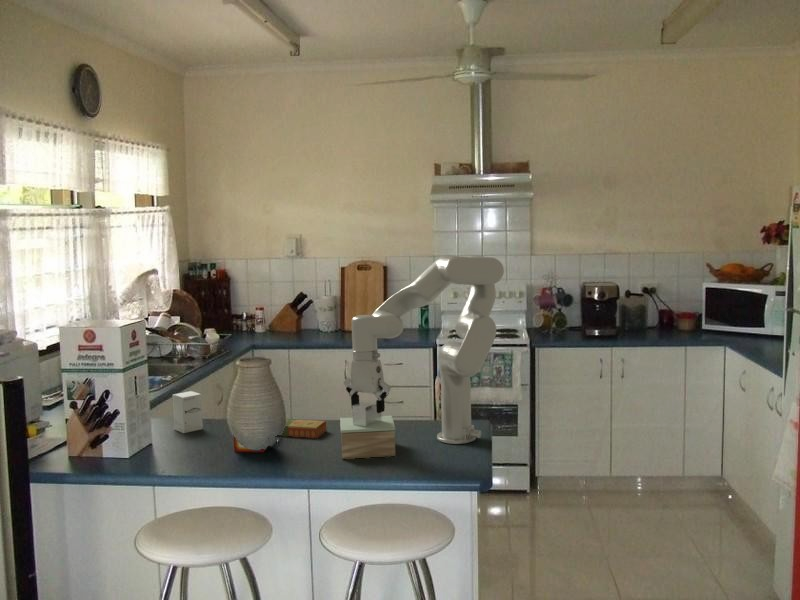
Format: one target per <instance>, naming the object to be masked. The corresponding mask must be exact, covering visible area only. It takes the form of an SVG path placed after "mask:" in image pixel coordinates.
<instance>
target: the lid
mask: <svg viewBox="0 0 800 600" xmlns="http://www.w3.org/2000/svg"><path fill="white" fill-rule="evenodd" d="M381 418H382V421H380V422H377V423H375V424H372V425H370V426H367V427H363V426H357V425H353V416H351V417H340V418H339V420H340V421H339V422H340V423H339V426H340V434H341V433H350V432H371V431H392V430H395V431H396V425H395V422H394V418H393V416H392V415H381Z"/></svg>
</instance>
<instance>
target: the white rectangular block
mask: <svg viewBox="0 0 800 600" xmlns="http://www.w3.org/2000/svg"><path fill="white" fill-rule="evenodd" d="M351 410H352V417H353V425H357V426H363V427H367V426H370V425H372V424H375V423H377V422H380V421H382V418H381V416H382V412H381V413H377V407H376V400H370V399H369V400H368V399H367V400H364V401H362V402H359V403H358V404H355V405H353V406H352V405H351Z"/></svg>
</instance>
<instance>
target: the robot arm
mask: <svg viewBox="0 0 800 600" xmlns="http://www.w3.org/2000/svg"><path fill="white" fill-rule="evenodd" d="M504 272H505V269H504V266H503V264H502V262H501V260H499V259H497V258H495V257H491V256H484V255H473V256H471V257H470V256H469V257H468V256H460V255H459V256H458V255H450V254H445V255H441V256H439V257H438V258H437V259H436V260H435V261H433V263H431V264H430V265H429V266H428V267H427V268H425V270H424V271H423V272H422V273H421V274H420V275H418V276H417V277H416V278H415V279H414V280H413V281H412V282H411V283H410V284H408V285H407V286H405V287H403V288H402V289H400V290H399V291H397V292H395V293H394V294H392V295H391V296H390V297H389V298H388V299H386V300H385V301H384V302H383V303H382V304H381V305H380V306H379V307H378V308H376V309H375V310H374V312H373V313H372V314H359V315H355V316H353V317H352V318H351V323H350V324H351V340H352V341H351V342H352V344H351V345H352V360H351V365H350V377H349V378H348V379H345V380H344V381H343V384H344V387H345V390H346V392H347V393H348V396H349V397H350V402H351V403H350V404H351V407H352V406H353V405H355V404H358V403H360V394H358V393H366V394H371V395H373V394H374V396H375V397H376V399H377V400H375V401H376V407H377V413H381V414H382V413H383V412H385V407H386V406H385V399H386V398H387V397H388V396H389V394H390V391H391V387H392V386H391V385H390V384H388V383H387V382H385V377H384V370H383V365H382V362H381V359H379V358H381V354H380V352H378V339H395V338H397V337H399V336H400V335H401V334H402V332H403V331H404V326H405V325H404V322H403V319H402V317H403V316H404V315H406V314H407V313H409V312H410V311H412V310H416V309H419V308H422V307H425V306H427V305H430V304H431V303H432V302H434V300H435V299H436V298H437V297H438V296H439V295H440V294H441V293H442V292H443V291H444V290H446V289H447V288H448V286H449V285H451V284H454V285H455V284H456V285H469V293H468V297H467V299H466V301H465V303H464V305H463V308H462V310H461V312H460V314H459V316H458V318H457V321H456V323H455V329H454V330H455V333H456V335H457V336H458V337H459V338H461V339H462V342H459V341H455V340H454V341H447V342H446V343H444V344H443V345H442V346H441V347H440V349H439V351H438V354H437V355H438V356H437V357H438V358H437V363H438V369H439V373H440V375H439V376H440V398H441V399H440V402H441V404H440V405H441V409H440V410H441V413H440V414H441V431H440V432H439V433H437V434H436V439H437V440H438V441H439V442H442V443H445V444H451V445H462V444H468V443H471V442H474V441H475V440H476V439H481V438H482V437H481V436H482V431H481V430H479V429H475V425H474V424H472V398H471V396H472V395H471V394H472V393H471V391H472V387H471V386H472V385H471V379H470V378H471V377H474V376H476V375H477V374H478V373H479V371H480V370H481V369H482V368H483V365H484V363H485V361H486V359H487V357H488V355H489V353H490V351H491V348H492V347H493V345H494V342H495V339H496V336H497V325H496V323H495V320H493V318H492V317H491V316H490V315H491V313H492V309H493V306H494V305H495V302H496V301H495V300H496V295H497V293H496V285H495V284H497V283H498V282H500V281H501V280H502V279H503V276H504V274H505V273H504Z"/></svg>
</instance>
